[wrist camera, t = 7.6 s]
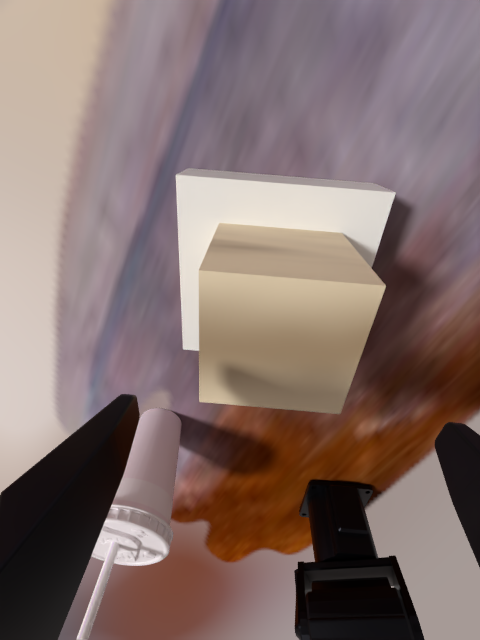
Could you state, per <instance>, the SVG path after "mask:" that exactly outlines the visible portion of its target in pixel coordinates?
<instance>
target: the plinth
mask: <svg viewBox="0 0 480 640" xmlns="http://www.w3.org/2000/svg"><path fill="white" fill-rule="evenodd" d="M176 190H177V214H178V238H179V262H180V286H181V310H182V334H183V349H185V350H197V351H199V268H200V266H201V264H202V261H203V259H204V257H205V254H206V252H207V250H208V247H209V245H210V243H211V241H212V238H213V236H214V234H215V231H216V229H217V227H218V224H219V223H228V224H240V225H252V226H265V227H277V228H289V229H301V230H313V231H325V232H337V233H342V234H343V235H344V236H345V237H346V239H347V240H348V241H349V242H350V243H351V245H352V246H353V247H354V248H355V249H356V250H357V252H358V253H359V254H360V255H361V256H362V258H363V259H364V260H365V261H366V262H367V264H368V265H369V266H370V267H371V268H372V266H373V262H374V259H375V256H376V253H377V250H378V247H379V244H380V241H381V237H382V234H383V231H384V228H385V225H386V222H387V219H388V216H389V212H390V209H391V206H392V203H393V200H394V197H395V194H396V192H393V191H391V190H389V189H386V188H384V187H382V186H380V185H377V184H375V183H366V182H353V181H341V180H329V179H316V178H304V177H291V176H279V175H266V174H254V173H242V172H229V171H217V170H204V169H192V168H188V169H186V170H184V171H182V172H180V173H178V174H176Z"/></svg>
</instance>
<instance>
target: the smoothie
mask: <svg viewBox="0 0 480 640" xmlns="http://www.w3.org/2000/svg"><path fill="white" fill-rule="evenodd" d="M180 433H181V420H180V418H179V417H178V416H177V415H176V414H175V413H173V412H172V411H169V410H167V409H163V408H153V409H149V410H147V411H145V412H144V413H143V414H142V416H141V418H140V419H139V423H138V426H137V430H136V433H135V437H134V440H133V444H132V448H131V451H130V455H129V458H128V462H127V465H126V469H125V472H124V475H123V477H122V480H121V483H120V485H119V488H118V490H117V493H116V495H115V498H114V500H113V503H112V505H111V508H110V510H109V513H108V515H107V518H106V520H105V523H104V525H103V528H102V530H101V533H100V535H99V538H98V540H97V543H96V545H95V548H94V550H93V553H92V555H91V556H92V557H95V558H97V559H100V560H103V561H105V562H104V564H103V567H102V570H101V572H100V575H99V578H98V581H97V584H96V587H95V589H94V592H93V595H92V598H91V600H90V603H89V606H88V609H87V611H86V615H85V617H84V620H83V623H82V626H81V628H80V631H79V634H78V637H77V640H88V638H89V635H90V632H91V629H92V626H93V623H94V620H95V617H96V615H97V612H98V609H99V606H100V603H101V599H102V597H103V594H104V591H105V587H106V585H107V582H108V578H109V576H110V573H111V570H112V567H113V564H114V563H115V564H120V565H130V566H134V565H135V566H140V565H149V564H153V563H156V562H159V561H161V560H162V559H164V558H165V557H166V556H167V555H168V553H169V549H170V543H171V541H172V539H173V531H172V529H171V527H170V520H171V512H172V505H173V494H174V485H175V477H176V468H177V459H178V451H179V442H180Z"/></svg>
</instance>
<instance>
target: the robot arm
mask: <svg viewBox="0 0 480 640" xmlns="http://www.w3.org/2000/svg"><path fill="white" fill-rule="evenodd" d="M138 423H139V408H138V402H137V397H136V396H135V395H129V394H122V395H120V396H118V397H117V398H116V399H115V400H113V401H112V402H111V403H110V404H109V405H107V406H106V407H105V408H104V409H102V410H101V411H100V412H99V413H98V414H96V415H95V416H94V417H93V418H91V419H90V420H89V421H88V422H87V423H85V424H84V425H83V426H82V427H80V428H79V429H78V430H77V431H76V432H74V433H73V434H72V435H71V436H69V437H68V438H67V439H66V440H65V441H63V442H62V443H61V444H60V445H58V446H57V447H56V448H55V449H54V450H52V451H51V452H50V453H49V454H47V455H46V456H45V457H44V458H43V459H41V460H40V461H39V462H38V463H37V464H35V465H34V466H33V467H32V468H31V469H29V470H28V471H27V472H26V473H24V474H23V475H22V476H21V477H19V478H18V479H17V480H16V481H15V482H13V483H12V484H11V485H10V486H9V487H7V488H6V489H5V490H4V491H2V492H1V495H0V640H58V637H59V635H60V632H61V630H62V627H63V625H64V622H65V620H66V617H67V615H68V612H69V610H70V607H71V605H72V602H73V600H74V597H75V595H76V593H77V590H78V587H79V585H80V583H81V580H82V578H83V575H84V573H85V570H86V568H87V565H88V563H89V560H90V558H91V555H92V553H93V550H94V548H95V545H96V543H97V540H98V538H99V535H100V533H101V530H102V528H103V525H104V523H105V520H106V518H107V515H108V513H109V510H110V508H111V505H112V503H113V500H114V498H115V495H116V493H117V490H118V488H119V485H120V483H121V480H122V477H123V475H124V472H125V469H126V465H127V462H128V458H129V455H130V451H131V448H132V444H133V440H134V437H135V433H136V430H137V426H138ZM435 449H436V452H437V455H438V458H439V462H440V465H441V468H442V471H443V475H444V478H445V481H446V484H447V487H448V490H449V493H450V496H451V499H452V502H453V505H454V507H455V510H456V512H457V514H458V517H459V519H460V522H461V524H462V527H463V529H464V531H465V534H466V536H467V538H468V541H469V543H470V546H471V548H472V550H473V553H474V555H475V557H476V560H477V562H478V565H479V567H480V435H479V434H477V433H476V432H475V431H473V430H472V429H471V428H469V427H468V426H466V425H465V424H462V423H453V422H448V423H446V424H445V426H444V427H443V429H442V430H441V432H440V433H439V435H438V436H437V438H436V440H435ZM372 493H373V490H372V487H371V486H367V485H356V484H344V483H333V482H322V481H310V482H309V483H308V486H307V489H306V492H305V495H304V498H303V501H302V504H301V507H300V510H299V513H300V516H302V517H309V520H310V528H311V535H312V543H313V550H314V558H315V562H308V563H304V562H298V569H296V570H295V583H296V611H295V633H296V636H297V637H298V638H299V640H424V636H423V633H422V630H421V626H420V623H419V620H418V617H417V614H416V611H415V609H414V606H413V603H412V600H411V597H410V595H409V592H408V589H407V586H406V584H405V581H404V578H403V575H402V573H401V570H400V567H399V564H398V562H397V559H396V556H389V557H386V558H378V556H377V552H376V548H375V545H374V541H373V538H372V534H371V531H370V527H369V524H368V520H367V516H366V513H365V509H364V508H365V506H366V504H367V502H368V500H369V499H370V497H371V495H372ZM391 586H394V588H391Z"/></svg>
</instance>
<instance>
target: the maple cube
mask: <svg viewBox="0 0 480 640" xmlns="http://www.w3.org/2000/svg"><path fill="white" fill-rule="evenodd" d="M385 288H386V285H385V284H384V283H383V282H382V280H381V279H380V278H379V277H378V276H377V274H376V273H375V272H374V271H373V270H372V268H371V267H370V266H369V265H368V264H367V262H366V261H365V260H364V259H363V258H362V256H361V255H360V254H359V253H358V252H357V250H356V249H355V248H354V247H353V246H352V245H351V243H350V242H349V241H348V240H347V239H346V237H345V236H344V235H343V234H342V233H337V232H325V231H313V230H301V229H289V228H277V227H265V226H252V225H240V224H228V223H219V224H218V227H217V229H216V231H215V234H214V236H213V238H212V241H211V243H210V245H209V247H208V250H207V252H206V254H205V257H204V259H203V261H202V264H201V266H200V268H199V402H208V403H219V404H231V405H242V406H254V407H265V408H277V409H288V410H300V411H311V412H323V413H334V414H340V413H341V410H342V407H343V405H344V402H345V399H346V396H347V394H348V391H349V388H350V385H351V382H352V380H353V377H354V374H355V371H356V369H357V366H358V363H359V360H360V357H361V355H362V352H363V349H364V346H365V344H366V341H367V338H368V335H369V332H370V330H371V327H372V324H373V321H374V319H375V316H376V313H377V310H378V307H379V305H380V302H381V299H382V296H383V294H384V291H385Z"/></svg>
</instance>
